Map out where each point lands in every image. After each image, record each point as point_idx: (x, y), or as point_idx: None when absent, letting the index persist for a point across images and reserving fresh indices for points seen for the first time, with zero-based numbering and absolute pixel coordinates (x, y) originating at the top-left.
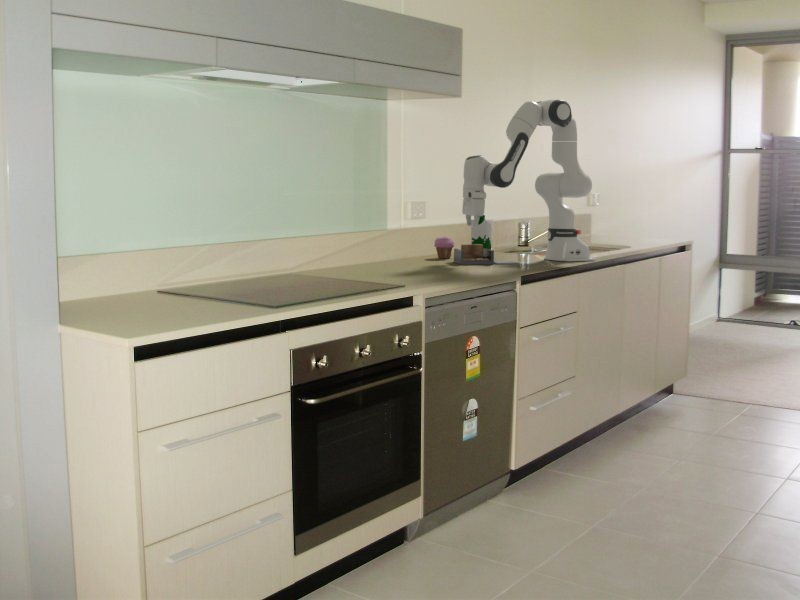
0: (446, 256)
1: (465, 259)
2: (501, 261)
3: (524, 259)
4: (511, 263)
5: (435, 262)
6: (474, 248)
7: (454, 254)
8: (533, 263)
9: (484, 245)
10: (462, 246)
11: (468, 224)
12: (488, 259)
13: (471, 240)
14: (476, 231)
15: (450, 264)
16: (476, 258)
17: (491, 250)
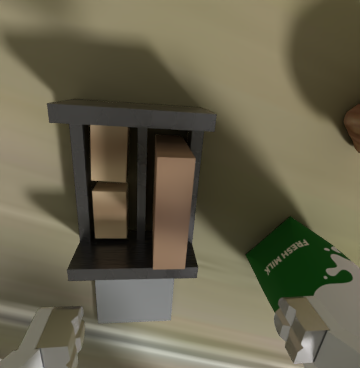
0: (347, 124)
1: (90, 132)
2: (151, 285)
3: (240, 360)
4: (96, 300)
5: (217, 3)
6: (154, 216)
7: (198, 110)
8: (124, 357)
9: (274, 295)
10: (165, 154)
11: (284, 308)
12: (95, 236)
13: (348, 268)
14: (348, 327)
15: (110, 54)
16: (153, 203)
17: (78, 272)
